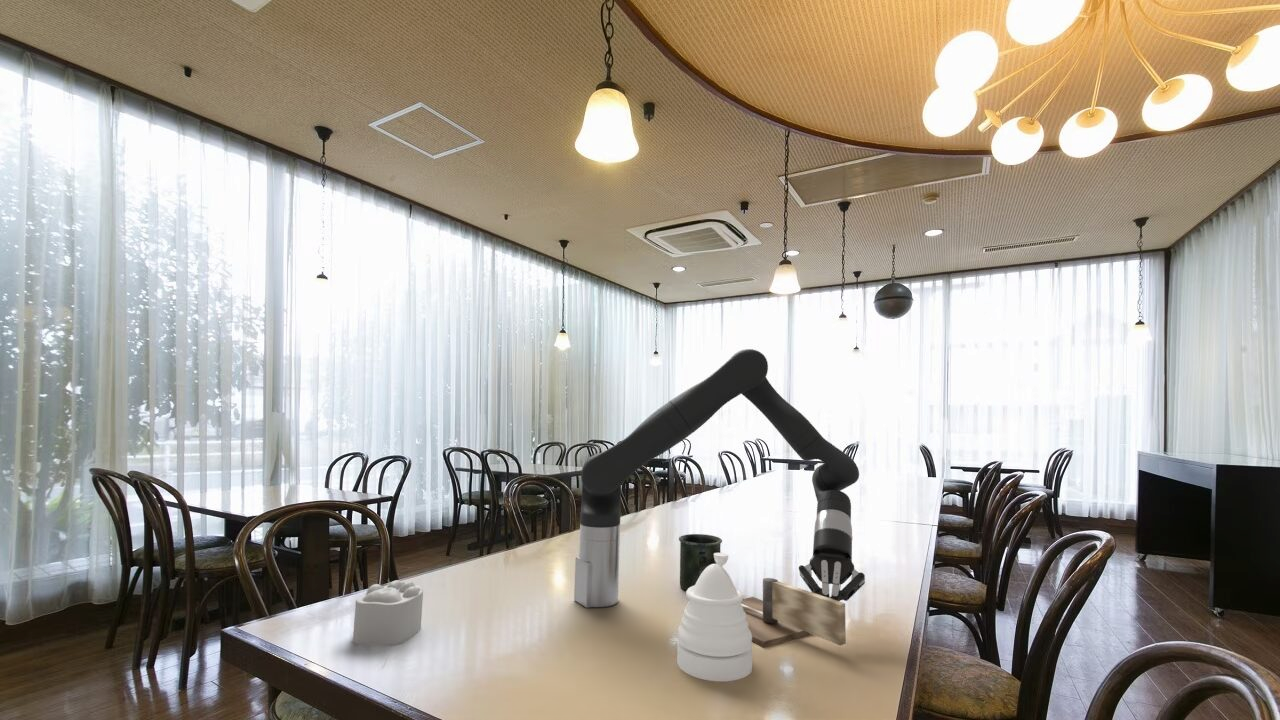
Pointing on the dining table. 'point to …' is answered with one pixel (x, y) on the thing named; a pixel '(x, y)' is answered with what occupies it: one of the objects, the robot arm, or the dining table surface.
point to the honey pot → (715, 628)
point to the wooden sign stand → (768, 626)
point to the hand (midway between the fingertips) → (829, 617)
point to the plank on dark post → (803, 610)
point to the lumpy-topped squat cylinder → (388, 614)
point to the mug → (696, 556)
